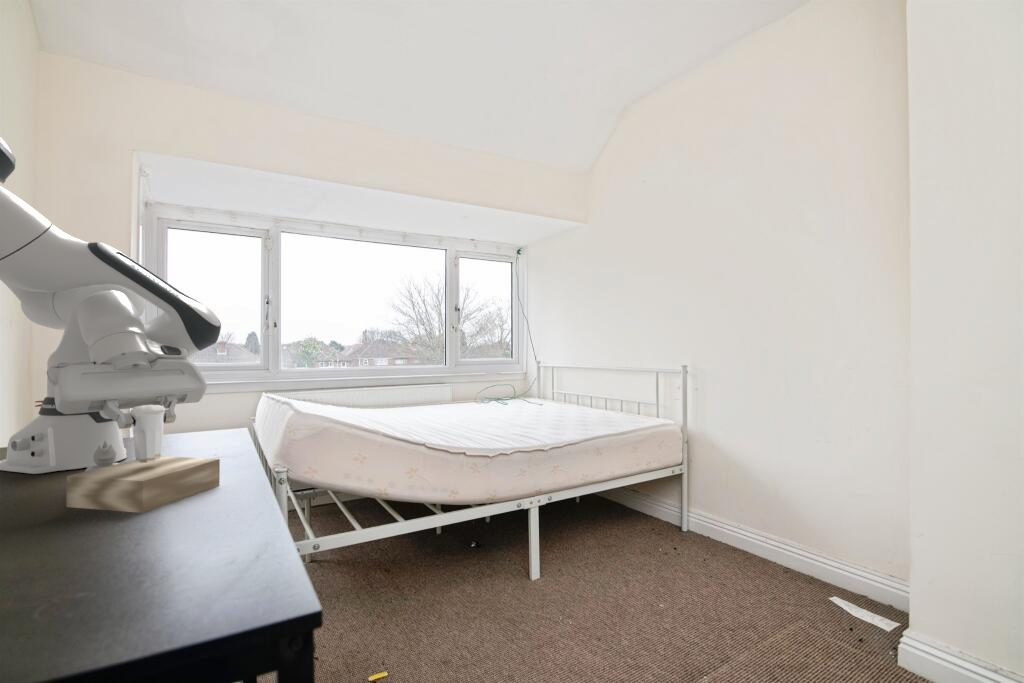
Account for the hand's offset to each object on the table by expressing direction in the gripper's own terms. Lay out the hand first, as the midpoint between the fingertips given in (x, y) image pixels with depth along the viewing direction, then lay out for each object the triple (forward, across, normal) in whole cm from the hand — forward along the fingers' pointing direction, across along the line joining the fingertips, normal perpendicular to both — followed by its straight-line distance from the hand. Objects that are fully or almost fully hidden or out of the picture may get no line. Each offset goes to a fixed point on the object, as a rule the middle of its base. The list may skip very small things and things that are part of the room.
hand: (149, 423), depth 78 cm
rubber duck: (-2, -2, +19) cm, 19 cm away
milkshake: (+4, 0, +5) cm, 6 cm away
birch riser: (+8, 0, +9) cm, 12 cm away
